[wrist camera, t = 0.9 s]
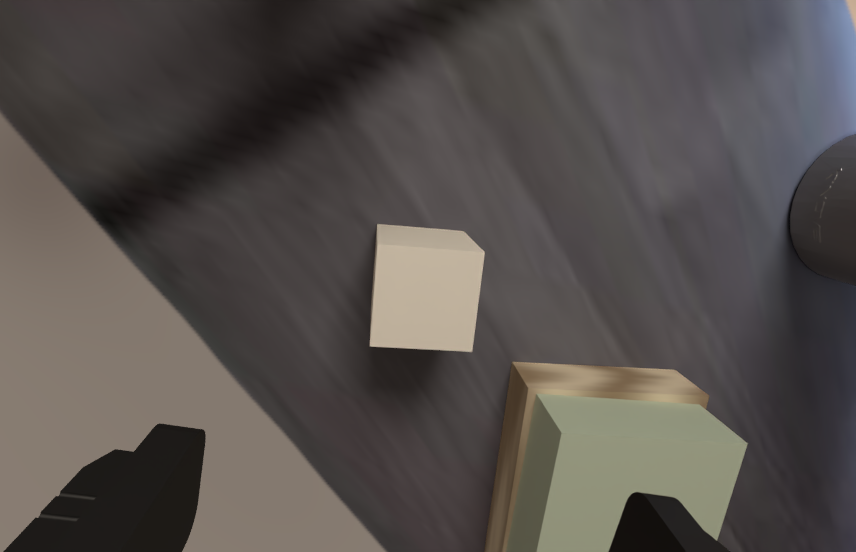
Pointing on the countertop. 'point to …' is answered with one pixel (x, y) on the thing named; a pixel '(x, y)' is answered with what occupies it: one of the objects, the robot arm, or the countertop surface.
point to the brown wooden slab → (569, 383)
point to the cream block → (425, 288)
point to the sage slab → (617, 468)
